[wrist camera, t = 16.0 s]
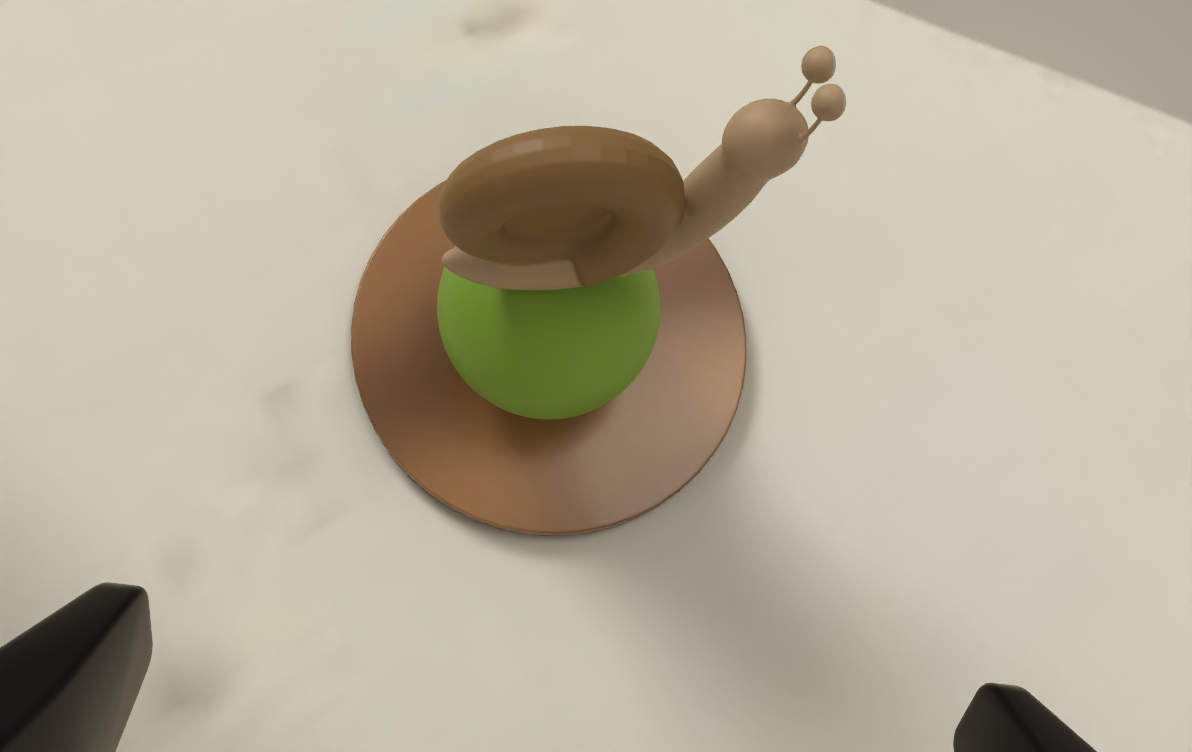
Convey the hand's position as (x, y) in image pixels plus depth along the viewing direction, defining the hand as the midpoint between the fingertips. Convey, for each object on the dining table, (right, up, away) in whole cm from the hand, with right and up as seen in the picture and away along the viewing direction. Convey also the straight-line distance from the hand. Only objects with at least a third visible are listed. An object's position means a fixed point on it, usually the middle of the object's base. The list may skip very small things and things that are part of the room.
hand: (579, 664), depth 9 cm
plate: (-1, +4, +15) cm, 16 cm away
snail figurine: (-1, +4, +15) cm, 15 cm away
